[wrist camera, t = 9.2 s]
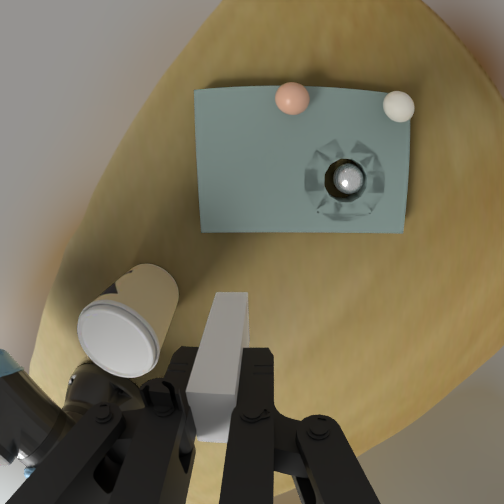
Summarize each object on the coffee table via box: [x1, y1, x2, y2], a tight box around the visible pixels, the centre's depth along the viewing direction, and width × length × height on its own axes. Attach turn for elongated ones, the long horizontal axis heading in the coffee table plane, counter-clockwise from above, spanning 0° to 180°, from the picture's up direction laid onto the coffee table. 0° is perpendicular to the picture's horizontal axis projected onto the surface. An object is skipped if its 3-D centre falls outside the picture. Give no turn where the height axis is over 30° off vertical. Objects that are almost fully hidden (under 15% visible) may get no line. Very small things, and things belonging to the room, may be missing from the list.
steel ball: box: [333, 163, 363, 194], centre depth 31 cm, size 3×3×3 cm
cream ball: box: [383, 91, 414, 122], centre depth 26 cm, size 3×3×3 cm
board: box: [194, 86, 410, 233], centre depth 31 cm, size 22×15×2 cm
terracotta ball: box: [275, 82, 310, 115], centre depth 26 cm, size 3×3×3 cm
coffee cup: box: [77, 264, 179, 378], centre depth 34 cm, size 9×9×12 cm
